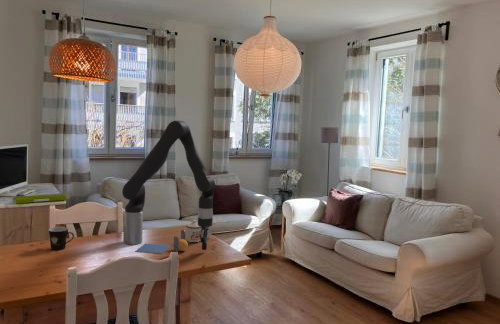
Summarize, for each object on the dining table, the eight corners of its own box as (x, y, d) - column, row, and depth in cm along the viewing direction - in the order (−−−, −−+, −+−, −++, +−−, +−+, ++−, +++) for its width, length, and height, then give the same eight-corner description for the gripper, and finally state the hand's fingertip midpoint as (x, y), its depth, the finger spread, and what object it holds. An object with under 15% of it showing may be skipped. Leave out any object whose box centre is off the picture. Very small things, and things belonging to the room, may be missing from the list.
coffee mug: (44, 249, 200) (44, 229, 199) (60, 245, 207) (60, 226, 206) (60, 253, 194) (60, 233, 193) (75, 249, 202) (75, 229, 201)
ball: (175, 240, 203) (187, 242, 202) (178, 237, 209) (189, 239, 208) (174, 251, 203) (185, 253, 203) (177, 248, 209) (188, 250, 209)
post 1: (172, 254, 199) (173, 237, 198) (174, 253, 201) (174, 236, 201) (177, 255, 199) (177, 237, 198) (178, 253, 201) (179, 236, 200)
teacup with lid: (190, 244, 219) (191, 223, 218) (183, 239, 226) (183, 219, 225) (209, 241, 226) (210, 220, 225) (201, 237, 233) (202, 217, 232)
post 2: (180, 247, 212) (180, 230, 211) (181, 246, 214) (181, 229, 213) (184, 247, 212) (184, 231, 211) (185, 246, 214) (186, 229, 213)
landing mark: (135, 251, 202) (135, 251, 202) (145, 243, 216) (145, 243, 216) (161, 253, 200) (161, 253, 200) (170, 245, 214) (170, 245, 214)
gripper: (201, 213, 210) (200, 245, 212) (194, 218, 197) (193, 253, 199) (215, 214, 210) (214, 246, 211) (209, 219, 197) (208, 254, 198)
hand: (204, 249), depth 205 cm, fingers closed
